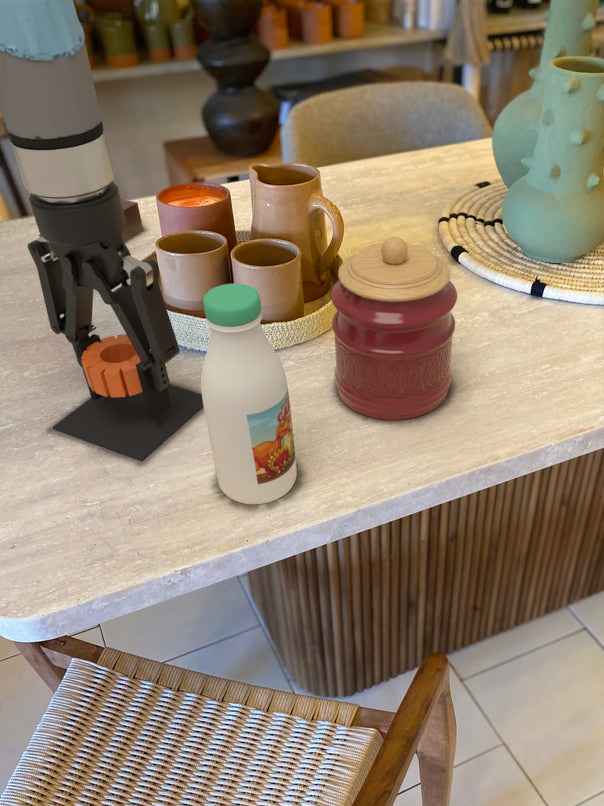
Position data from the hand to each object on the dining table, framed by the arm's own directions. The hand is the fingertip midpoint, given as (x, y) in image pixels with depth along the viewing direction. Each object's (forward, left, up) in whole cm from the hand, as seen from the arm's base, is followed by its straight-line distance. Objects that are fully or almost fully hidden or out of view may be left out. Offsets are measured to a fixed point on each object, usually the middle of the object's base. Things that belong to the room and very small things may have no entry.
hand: (131, 402), depth 82 cm
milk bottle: (+18, -3, -2) cm, 18 cm away
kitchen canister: (+23, +17, -2) cm, 29 cm away
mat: (0, 0, -2) cm, 2 cm away
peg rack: (-32, +30, -2) cm, 44 cm away
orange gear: (0, 0, +3) cm, 3 cm away
